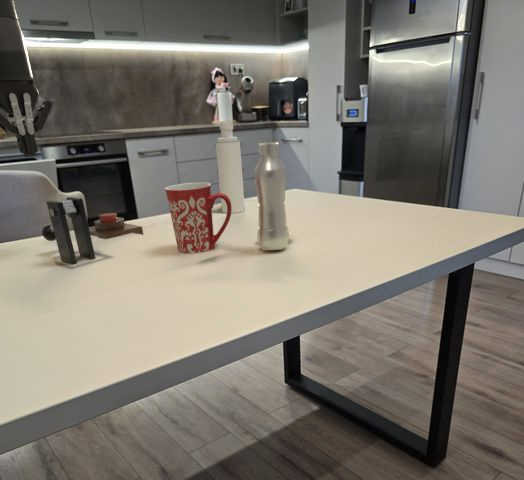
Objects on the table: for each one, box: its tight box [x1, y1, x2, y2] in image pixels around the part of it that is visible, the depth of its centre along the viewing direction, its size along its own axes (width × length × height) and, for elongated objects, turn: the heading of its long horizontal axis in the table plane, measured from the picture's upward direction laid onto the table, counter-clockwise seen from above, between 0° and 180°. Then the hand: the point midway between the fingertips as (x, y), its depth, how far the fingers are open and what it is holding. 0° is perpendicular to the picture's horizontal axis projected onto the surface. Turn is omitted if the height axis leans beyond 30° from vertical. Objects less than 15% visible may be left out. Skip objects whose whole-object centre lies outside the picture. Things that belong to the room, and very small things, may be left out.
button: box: [99, 212, 118, 222], centre depth 115 cm, size 4×4×2 cm
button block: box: [89, 216, 144, 240], centre depth 117 cm, size 12×10×4 cm
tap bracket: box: [46, 196, 96, 266], centre depth 92 cm, size 10×8×13 cm
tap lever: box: [41, 199, 77, 242], centre depth 95 cm, size 14×3×3 cm, turn 48°
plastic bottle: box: [253, 142, 290, 251], centre depth 93 cm, size 6×7×20 cm
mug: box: [164, 181, 232, 254], centre depth 95 cm, size 13×9×14 cm
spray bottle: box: [215, 120, 246, 214], centre depth 133 cm, size 7×7×25 cm
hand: (30, 156), depth 92 cm, fingers closed
